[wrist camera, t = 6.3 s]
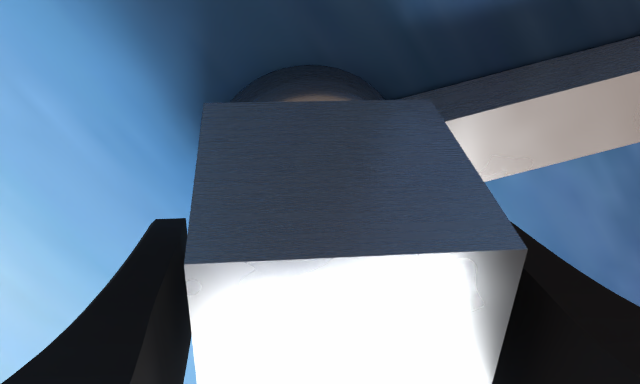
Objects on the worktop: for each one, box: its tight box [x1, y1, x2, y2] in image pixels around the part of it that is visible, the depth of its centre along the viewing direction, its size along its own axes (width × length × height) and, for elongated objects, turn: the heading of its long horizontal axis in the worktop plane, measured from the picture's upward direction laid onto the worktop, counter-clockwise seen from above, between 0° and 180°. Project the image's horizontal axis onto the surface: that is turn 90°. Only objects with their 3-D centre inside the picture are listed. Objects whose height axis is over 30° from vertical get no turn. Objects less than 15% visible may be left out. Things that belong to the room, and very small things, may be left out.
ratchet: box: [230, 36, 640, 182], centre depth 15 cm, size 19×5×5 cm, turn 103°
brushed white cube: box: [184, 99, 528, 384], centre depth 12 cm, size 5×5×6 cm
